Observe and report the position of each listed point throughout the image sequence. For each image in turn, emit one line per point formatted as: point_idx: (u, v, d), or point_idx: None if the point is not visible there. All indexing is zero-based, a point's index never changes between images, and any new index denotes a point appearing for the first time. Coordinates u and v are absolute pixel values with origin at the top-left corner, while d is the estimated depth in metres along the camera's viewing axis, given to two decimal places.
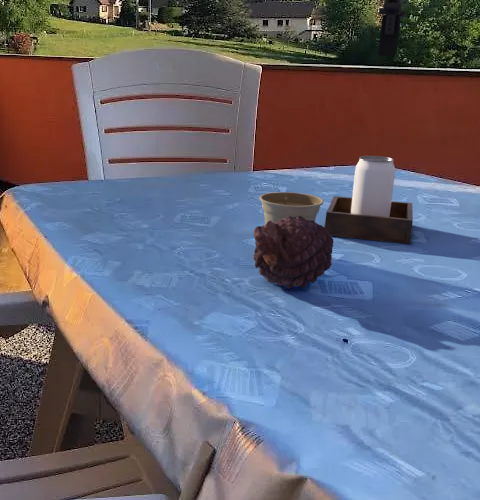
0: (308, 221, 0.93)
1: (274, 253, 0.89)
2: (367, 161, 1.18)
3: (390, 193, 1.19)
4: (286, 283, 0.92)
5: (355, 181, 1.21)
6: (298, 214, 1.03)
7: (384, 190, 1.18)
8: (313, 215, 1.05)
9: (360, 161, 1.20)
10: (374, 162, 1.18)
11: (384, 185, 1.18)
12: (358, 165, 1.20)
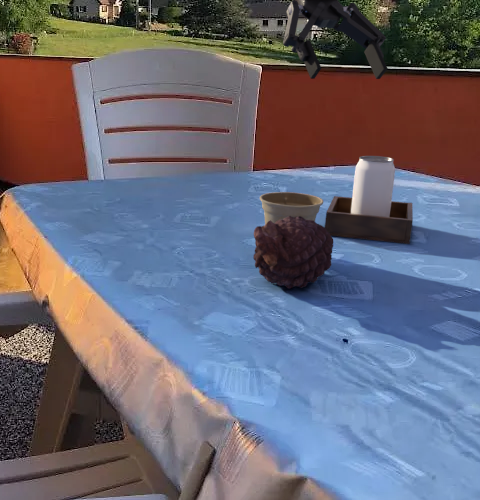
0: (308, 221, 0.93)
1: (274, 253, 0.89)
2: (367, 161, 1.18)
3: (390, 193, 1.19)
4: (286, 283, 0.92)
5: (355, 181, 1.21)
6: (298, 214, 1.03)
7: (384, 190, 1.18)
8: (313, 215, 1.05)
9: (360, 161, 1.20)
10: (374, 162, 1.18)
11: (384, 186, 1.18)
12: (358, 165, 1.20)
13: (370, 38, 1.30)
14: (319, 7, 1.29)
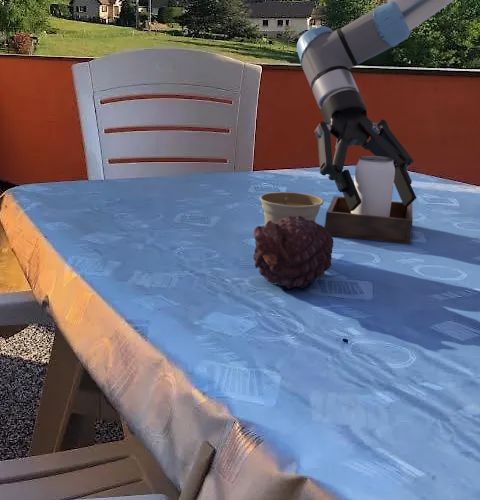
0: (308, 221, 0.93)
1: (274, 253, 0.89)
2: (367, 161, 1.18)
3: (390, 193, 1.19)
4: (286, 283, 0.92)
5: (355, 181, 1.21)
6: (298, 214, 1.03)
7: (384, 190, 1.18)
8: (313, 215, 1.05)
9: (360, 161, 1.20)
10: (374, 162, 1.18)
11: (384, 186, 1.18)
12: (358, 165, 1.20)
13: (397, 161, 1.24)
14: (349, 127, 1.24)
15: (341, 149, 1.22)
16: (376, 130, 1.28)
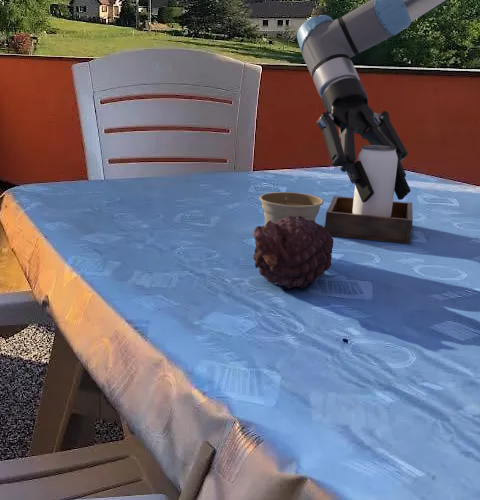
0: (308, 221, 0.93)
1: (274, 253, 0.89)
2: (369, 150, 1.18)
3: (393, 182, 1.19)
4: (286, 283, 0.92)
5: None
6: (298, 214, 1.03)
7: (386, 179, 1.18)
8: (313, 215, 1.05)
9: (362, 150, 1.19)
10: (376, 151, 1.17)
11: (386, 174, 1.18)
12: (360, 154, 1.19)
13: None
14: (351, 115, 1.23)
15: (349, 139, 1.21)
16: (376, 120, 1.26)
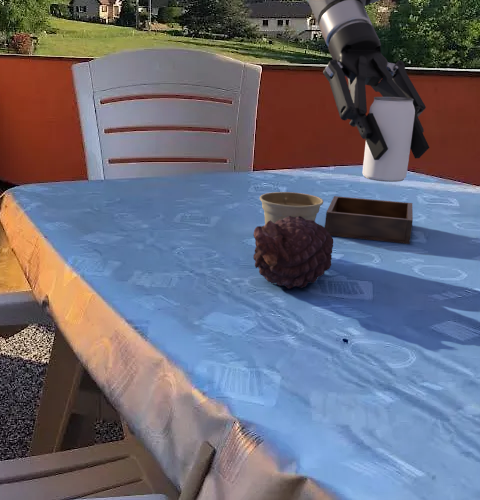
0: (308, 221, 0.93)
1: (274, 253, 0.89)
2: (383, 100, 1.03)
3: (409, 138, 1.05)
4: (286, 283, 0.92)
5: None
6: (298, 214, 1.03)
7: (402, 134, 1.04)
8: (313, 215, 1.05)
9: (375, 101, 1.05)
10: (391, 102, 1.03)
11: (402, 128, 1.03)
12: (373, 106, 1.05)
13: None
14: (362, 63, 1.09)
15: (359, 90, 1.07)
16: (390, 71, 1.12)
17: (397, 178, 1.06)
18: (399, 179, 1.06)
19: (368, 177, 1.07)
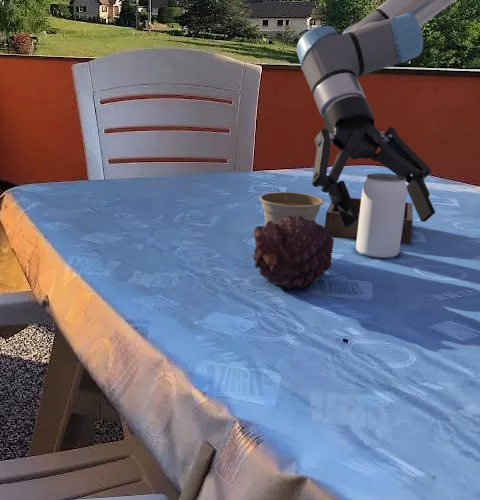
0: (308, 221, 0.93)
1: (274, 253, 0.89)
2: (376, 180, 1.05)
3: (402, 216, 1.06)
4: (286, 283, 0.92)
5: (362, 202, 1.08)
6: (298, 214, 1.03)
7: (394, 213, 1.05)
8: (313, 215, 1.05)
9: (368, 180, 1.07)
10: (383, 182, 1.05)
11: (395, 208, 1.05)
12: (366, 184, 1.07)
13: (413, 172, 1.11)
14: (353, 137, 1.11)
15: (340, 159, 1.09)
16: (385, 140, 1.14)
17: (390, 255, 1.07)
18: (392, 256, 1.08)
19: (361, 252, 1.09)
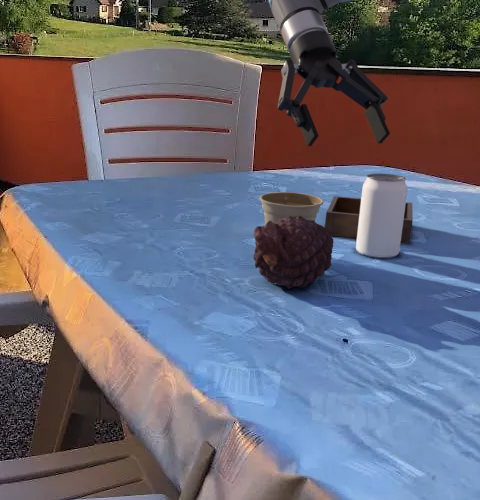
0: (308, 221, 0.93)
1: (274, 253, 0.89)
2: (376, 180, 1.05)
3: (402, 216, 1.06)
4: (286, 283, 0.92)
5: (362, 202, 1.08)
6: (298, 214, 1.03)
7: (394, 213, 1.05)
8: (313, 215, 1.05)
9: (368, 180, 1.07)
10: (383, 182, 1.05)
11: (395, 208, 1.05)
12: (366, 184, 1.07)
13: (371, 99, 1.21)
14: (316, 66, 1.21)
15: (303, 86, 1.19)
16: (346, 71, 1.24)
17: (390, 255, 1.07)
18: (392, 256, 1.08)
19: (361, 252, 1.09)
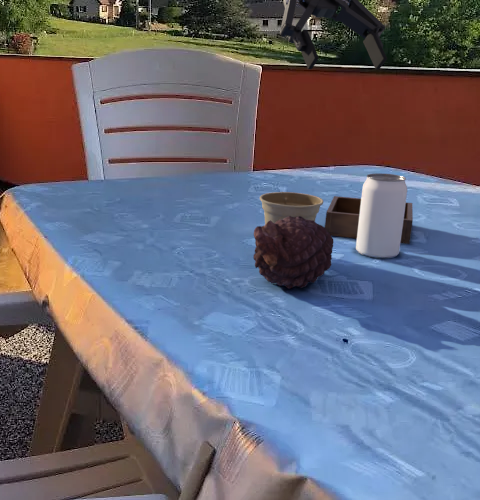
0: (308, 221, 0.93)
1: (274, 253, 0.89)
2: (376, 180, 1.05)
3: (402, 216, 1.06)
4: (286, 283, 0.92)
5: (362, 202, 1.08)
6: (298, 214, 1.03)
7: (394, 213, 1.05)
8: (313, 215, 1.05)
9: (368, 180, 1.07)
10: (383, 182, 1.05)
11: (395, 208, 1.05)
12: (366, 184, 1.07)
13: (369, 28, 1.27)
14: None
15: (304, 13, 1.24)
16: (345, 3, 1.30)
17: (390, 255, 1.07)
18: (392, 256, 1.08)
19: (361, 252, 1.09)
